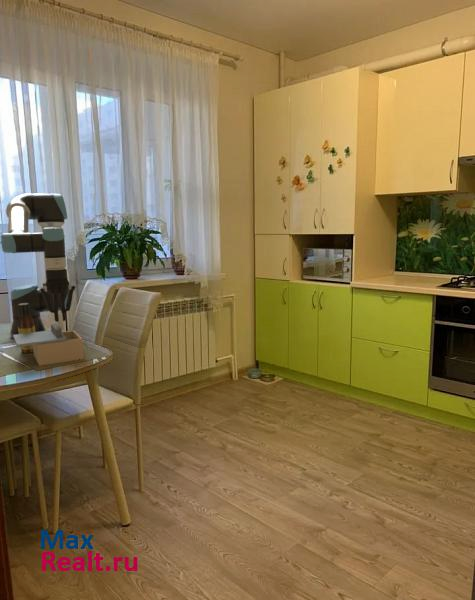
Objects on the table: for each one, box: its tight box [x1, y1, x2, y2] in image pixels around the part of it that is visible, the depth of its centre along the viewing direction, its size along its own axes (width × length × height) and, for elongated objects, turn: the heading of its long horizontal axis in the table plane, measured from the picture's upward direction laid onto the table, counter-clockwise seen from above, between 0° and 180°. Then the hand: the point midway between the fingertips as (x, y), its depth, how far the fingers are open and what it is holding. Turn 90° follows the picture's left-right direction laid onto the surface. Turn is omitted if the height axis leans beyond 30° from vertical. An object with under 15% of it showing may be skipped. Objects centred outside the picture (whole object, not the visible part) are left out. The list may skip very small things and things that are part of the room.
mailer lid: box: [13, 323, 67, 348], centre depth 178 cm, size 17×17×4 cm
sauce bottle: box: [18, 303, 35, 354], centre depth 190 cm, size 7×6×20 cm
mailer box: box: [32, 329, 85, 367], centre depth 182 cm, size 16×16×8 cm
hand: (61, 329), depth 182 cm, fingers closed
